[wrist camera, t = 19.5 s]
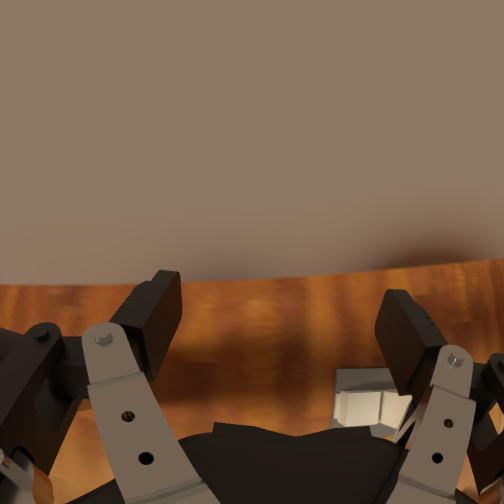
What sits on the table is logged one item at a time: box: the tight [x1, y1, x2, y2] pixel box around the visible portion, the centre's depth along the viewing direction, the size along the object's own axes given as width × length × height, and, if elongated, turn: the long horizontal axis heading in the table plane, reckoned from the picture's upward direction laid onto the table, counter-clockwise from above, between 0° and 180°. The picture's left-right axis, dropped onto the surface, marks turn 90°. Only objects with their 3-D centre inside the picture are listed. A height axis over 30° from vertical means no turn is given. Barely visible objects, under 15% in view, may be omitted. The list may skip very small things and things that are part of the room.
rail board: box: [330, 368, 397, 437], centre depth 36 cm, size 18×12×6 cm, turn 85°
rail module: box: [376, 389, 412, 429], centre depth 32 cm, size 5×5×11 cm
